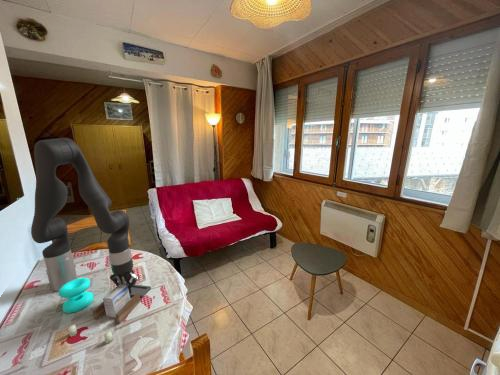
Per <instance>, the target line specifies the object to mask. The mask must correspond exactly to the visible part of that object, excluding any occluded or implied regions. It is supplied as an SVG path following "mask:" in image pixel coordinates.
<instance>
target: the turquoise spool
mask: <svg viewBox="0 0 500 375" xmlns="http://www.w3.org/2000/svg"><path fill="white" fill-rule="evenodd" d="M90 287H91V280H90V279H89V278H87V277H77V279H74V280H72V281H70V282H68V283H66V284H65V285H63V286H62V287H61V288H60V290H59V291H58V292H57V293H58V294H57V295H58V296H59V297H60V298H62V299H66V300H65V301H64V302H63V305H62V307H61V308H62V311H63V312H65V313H69V314H71V313H72V314H73V313H76V312H80V311H81V310H83V309H85V308H87V307H88V306H89V305H90V304H91V303H92V302H93V300H94V297H95V296H94V294H93V293H92V292H91V291H87V290H88V289H89V288H90Z"/></svg>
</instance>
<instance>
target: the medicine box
mask: <svg viewBox="0 0 500 375" xmlns="http://www.w3.org/2000/svg"><path fill="white" fill-rule="evenodd" d="M130 299H131V297H130V295H129V289H128V286H127V285H118V286H115V288H113V289H112V290H111V291H110V292H108V293H107V294H106V295H105V296H104V297H103V298H102V302H104V306H105V311H106V312H105V314H106V317H110V318H116V313H117V312H118V311H119V310H120V309H121V308H122V307H123V306H124V305H125V304H126V303H127V302H128V301H129V300H130Z"/></svg>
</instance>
